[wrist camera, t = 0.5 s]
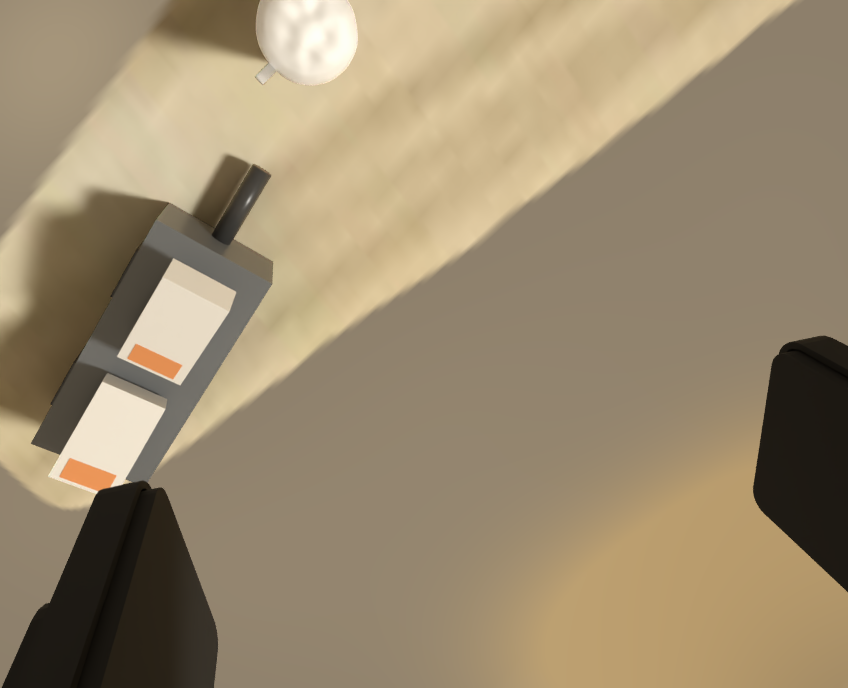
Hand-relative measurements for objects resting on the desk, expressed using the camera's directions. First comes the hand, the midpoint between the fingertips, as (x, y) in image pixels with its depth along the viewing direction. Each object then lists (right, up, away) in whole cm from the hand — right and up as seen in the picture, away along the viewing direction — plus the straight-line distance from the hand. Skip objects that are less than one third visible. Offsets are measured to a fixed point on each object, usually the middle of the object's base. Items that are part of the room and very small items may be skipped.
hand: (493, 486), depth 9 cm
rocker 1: (-19, -3, +26) cm, 32 cm away
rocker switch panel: (-17, +5, +31) cm, 35 cm away
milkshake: (-8, +19, +26) cm, 34 cm away
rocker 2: (-14, +3, +24) cm, 28 cm away
